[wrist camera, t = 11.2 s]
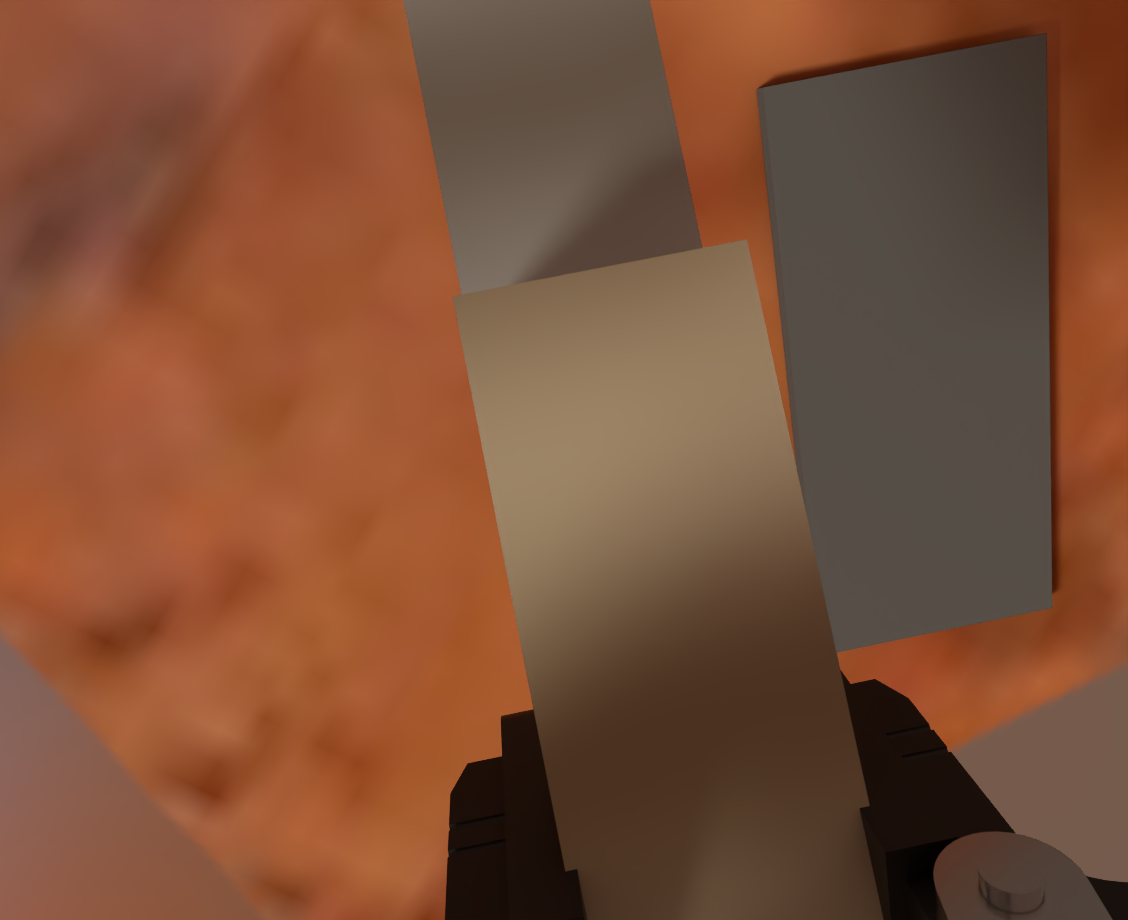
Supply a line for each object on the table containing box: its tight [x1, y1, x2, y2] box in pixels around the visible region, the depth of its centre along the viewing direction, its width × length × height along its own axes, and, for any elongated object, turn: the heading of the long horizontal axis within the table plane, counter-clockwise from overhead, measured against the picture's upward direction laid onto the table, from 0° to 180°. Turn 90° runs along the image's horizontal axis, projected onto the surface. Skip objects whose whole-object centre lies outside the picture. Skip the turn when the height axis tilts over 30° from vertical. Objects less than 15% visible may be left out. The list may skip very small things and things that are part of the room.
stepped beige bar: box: [404, 0, 884, 920], centre depth 11 cm, size 15×3×5 cm, turn 11°
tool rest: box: [757, 33, 1052, 652], centre depth 28 cm, size 8×18×1 cm, turn 10°
